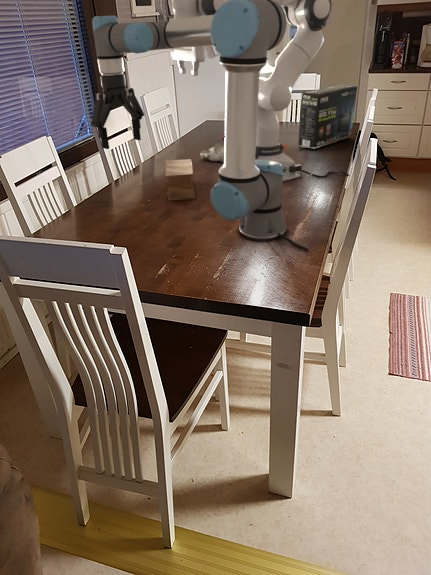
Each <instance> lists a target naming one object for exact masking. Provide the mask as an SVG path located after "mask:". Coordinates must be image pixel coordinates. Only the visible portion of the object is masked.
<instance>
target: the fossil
mask: <svg viewBox="0 0 431 575" xmlns="http://www.w3.org/2000/svg"><path fill="white" fill-rule="evenodd" d="M199 156H200V158H201V159H202V160H205V161H206V160H208V161H212V162H220V163H224V142H223V143H222V142H216V143H215V144H214V146H212V147H210V148H209V149H204V150H202V151H201V152H200V154H199Z"/></svg>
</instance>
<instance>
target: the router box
mask: <svg viewBox="0 0 431 575" xmlns="http://www.w3.org/2000/svg"><path fill="white" fill-rule="evenodd" d="M357 93H358V86H356V85H350V84H339V85H338V84H337V85H334V86H328V87H324V88H318V89H314V90H309V91H304V92H301V93H300V109H299V110H300V111H299V124H298V137H297V146H298V145H302V146H307V147H317V146H320V145H323V144H325V143H328V142H331V141H333V140H336V139H338V138H341V137H344V136H347V135H351V136H352V133H353V132H352V131H353V125H354V115H355V109H356V99H357ZM311 151H313V150H312V149H311Z"/></svg>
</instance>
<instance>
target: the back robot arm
mask: <svg viewBox="0 0 431 575" xmlns="http://www.w3.org/2000/svg"><path fill="white" fill-rule="evenodd" d="M227 1H229V0H171V10H172V13H173V19H172V20H174V19H182V18H190V17H199V16H207V15H215V13H216V11H217V10H218V9H219V7H220V6H221V5H222V4H224V3H225V2H227ZM274 1H276V2H277V3H278V4H279V5H280V6H281V7H282V8H283V10H284V12H285V15H286V20H287V24H289V25H291V26H292V27H295V28H297V30H296V33H295V35H294V37H293V38H292V39H291V40H290V41H289V42H288V43H287V45H286V47H285V48H284V49H283V50H282V51H281V53H280V54H279V55H278V56H277V57H276V59H275V62H274V64H275V66H274V68H273V71H272V73H271V74H270V75H269V77H268V78H265V77H260V79H259V98H258V117H257V135H256V154H255V160H270V161H275V162H278V163H280V164H281V165H282V167H283V182H285V181H290V180H294V179H297V178H300V177H301V176H302V175H300V174H297V173H299V172H300V173H304V174H307V175H309V176H313V177H316V178H327V177H328V176H329V175H331V174H340V173H339V172H342V173H341V174H344V175H345V176H347V177H350V174H349V173H348V172H346V171H343V170H338V171H339V172H334V171H328V172H326V174H324V175H319V174H314V173H311V172H309V171H306V170H304V169H302V165H301V164H296V162H295V160H294V159H293V158H291V157H290V156H289V155H288V154H286V153H285V152H284V151H287V150H288V149H289V148H288V145H287V144H283V143H281V142H280V132H281V125H280V121H279V120H278V117H277V113H276V112H281V111H284V110H286V109H287V108H288V107H289V105H290V104H291V101H292V91H293V90H294V87H295V85H296V82H297V81H298V79H299V78H300V76H301V75H302V74H303V73H304V71H305V70H306V69H307V68H308V66H309V65H310V64H311V63H312V61H313V60H314V58H315V57H316V56H317V54H318V52H319V51H320V49H321V47H322V45H323V43H324V34H323V32H322V30H323V29H325V27H326V25H327V21H328V20H329V18H330V15H331V13H332V9H333V8H332V7H333V2H332V0H274ZM205 49H206V48H205V46H199V47H184V48H172V49H169V50H170V57H171V58H172V60H175V61H177V66H178V69H179V74H182V75H184V74H186V73H187V69H186V67H185V62H191V63H192V64H191V65H192V70H191V76H194V77H198V76H199V67H200V63H204V62H205V60H206V50H205ZM283 150H284V151H283ZM297 171H299V172H297ZM296 172H297V173H296ZM310 174H312V175H310Z"/></svg>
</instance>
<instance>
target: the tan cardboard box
mask: <svg viewBox="0 0 431 575" xmlns="http://www.w3.org/2000/svg"><path fill="white" fill-rule="evenodd" d="M165 183H166V194H167V201H180V200H181V201H182V200H195V199H196V198H195V186H194V185H195V184H194V171H193V163H192V159H190V158H188V159H186V158H185V159H170V160H168V159H167V160H165Z"/></svg>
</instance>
